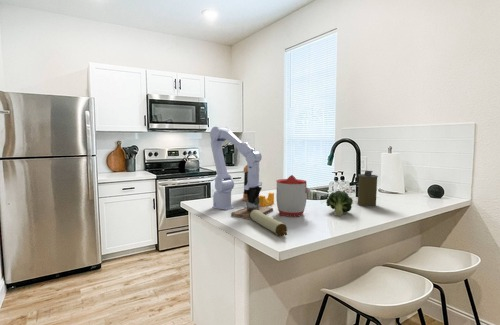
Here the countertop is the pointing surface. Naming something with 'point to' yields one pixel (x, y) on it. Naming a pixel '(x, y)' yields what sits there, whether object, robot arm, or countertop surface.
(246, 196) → the whiskey bottle
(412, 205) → the countertop surface
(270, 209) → the base plate
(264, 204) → the pipe clamp
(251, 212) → the beige long cylinder
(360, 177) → the canister
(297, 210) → the citrus juicer
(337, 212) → the vegetable
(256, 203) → the twist cap
